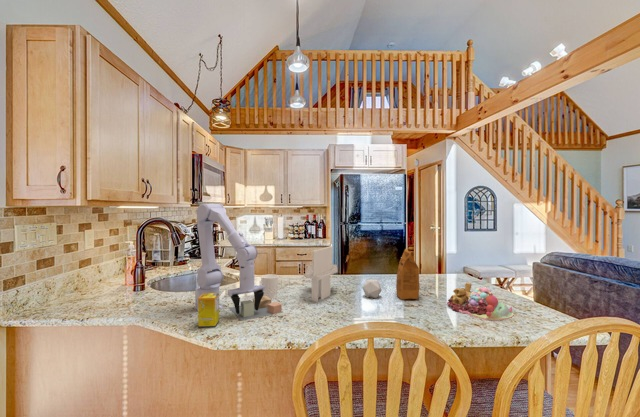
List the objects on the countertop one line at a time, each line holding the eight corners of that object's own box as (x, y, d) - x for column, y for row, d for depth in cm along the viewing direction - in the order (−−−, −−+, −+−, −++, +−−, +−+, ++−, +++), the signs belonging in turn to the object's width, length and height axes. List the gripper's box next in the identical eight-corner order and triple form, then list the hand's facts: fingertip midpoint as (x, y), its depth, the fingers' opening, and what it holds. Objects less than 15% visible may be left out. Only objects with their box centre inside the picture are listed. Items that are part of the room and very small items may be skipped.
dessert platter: (437, 307, 133) (437, 286, 133) (463, 297, 148) (463, 277, 148) (501, 325, 114) (501, 300, 113) (523, 311, 129) (523, 288, 129)
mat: (241, 321, 116) (241, 320, 116) (228, 308, 131) (228, 307, 131) (282, 312, 126) (282, 312, 126) (266, 301, 140) (266, 301, 140)
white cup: (269, 301, 141) (269, 279, 141) (257, 298, 146) (257, 276, 145) (281, 297, 147) (281, 275, 147) (270, 294, 152) (270, 273, 152)
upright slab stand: (301, 287, 164) (301, 242, 164) (341, 287, 164) (341, 243, 163) (294, 304, 137) (294, 251, 136) (343, 305, 136) (343, 251, 135)
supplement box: (203, 322, 116) (202, 293, 116) (219, 321, 116) (219, 292, 116) (197, 328, 110) (197, 297, 110) (215, 328, 110) (215, 297, 110)
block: (273, 314, 124) (273, 306, 123) (267, 311, 126) (267, 304, 126) (281, 311, 126) (281, 304, 126) (275, 309, 129) (275, 301, 129)
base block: (257, 309, 129) (257, 301, 129) (252, 305, 134) (252, 298, 134) (271, 306, 133) (271, 299, 133) (265, 302, 138) (265, 295, 138)
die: (383, 296, 149) (374, 278, 154) (385, 292, 142) (376, 273, 146) (368, 303, 148) (359, 285, 153) (369, 299, 141) (360, 280, 145)
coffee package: (415, 293, 153) (415, 248, 153) (421, 301, 141) (421, 252, 140) (394, 292, 154) (394, 248, 154) (398, 300, 142) (398, 252, 141)
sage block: (243, 317, 120) (243, 304, 120) (240, 314, 123) (240, 301, 123) (253, 315, 122) (253, 302, 122) (250, 312, 126) (250, 299, 125)
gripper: (231, 281, 115) (231, 318, 115) (268, 276, 123) (268, 310, 123) (226, 277, 121) (226, 312, 121) (261, 273, 129) (261, 305, 129)
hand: (247, 311), depth 123 cm, fingers open, 7 cm apart
